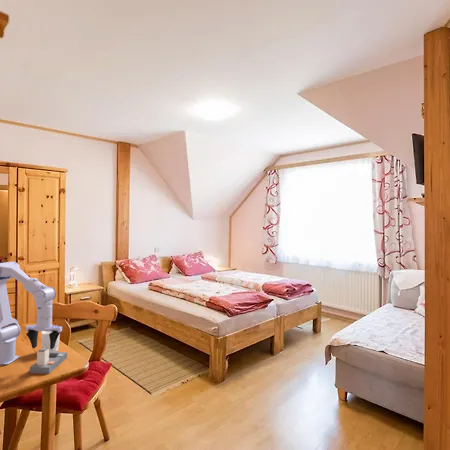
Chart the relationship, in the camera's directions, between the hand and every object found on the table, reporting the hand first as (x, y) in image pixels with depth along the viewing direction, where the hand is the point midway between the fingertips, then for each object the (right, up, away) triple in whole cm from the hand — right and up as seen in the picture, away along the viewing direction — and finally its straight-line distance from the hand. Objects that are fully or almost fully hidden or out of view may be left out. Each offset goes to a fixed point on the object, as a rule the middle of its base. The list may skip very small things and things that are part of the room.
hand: (43, 347), depth 134 cm
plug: (0, -9, 0) cm, 9 cm away
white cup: (-7, -9, +17) cm, 21 cm away
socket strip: (0, -9, +4) cm, 10 cm away
